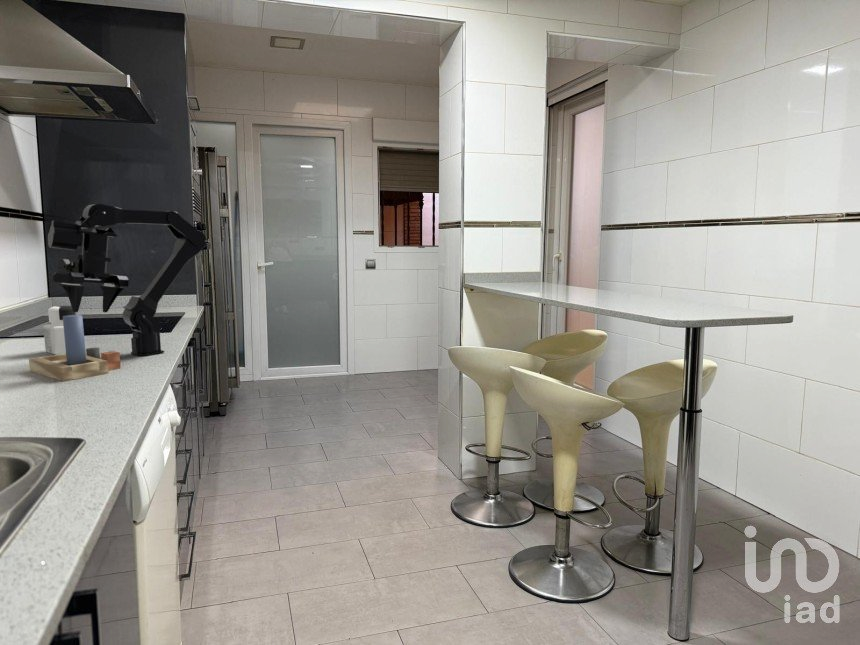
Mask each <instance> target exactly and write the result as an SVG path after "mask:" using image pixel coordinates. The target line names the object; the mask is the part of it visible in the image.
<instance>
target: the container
mask: <svg viewBox="0 0 860 645" xmlns="http://www.w3.org/2000/svg"><path fill="white" fill-rule="evenodd" d="M47 312H48V313H47V314H48V322H49V324H44V325H43V327H42V328H43V337H44V348H45V352H46V353H48V354H52V355H58V354H65V353H66V348H65V337H64V326H63V316H68V315H77V312H73V309H72V306H71V305H56V306H51V307H49V308H48V310H47Z"/></svg>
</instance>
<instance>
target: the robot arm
mask: <svg viewBox="0 0 860 645" xmlns="http://www.w3.org/2000/svg"><path fill="white" fill-rule="evenodd" d="M122 224H141V225H142V224H143V225H163V226H166V227H167V229H168V230H169V231H170V233H171V234H172V236H173V237H175V239H176V241H175V244H174V246H173V251H172V253H171V255H170V256H169V258H168V260H166V262H165V263H164V265H163V266H162V267H161V269H160V270H159V271H158V273H157V275H156V276H155V277H154V279H153V280H152V281H151V283H150V284H149V285H148V287H147V288H146V290H145V291H144V293H142V294H141V295H140V296H136V295H135V296H134V295H131V297H130V298H129V300H128V302H127V304H126V305H125V306H123V307H122V308H123V309H124V310H123V312H122V319H123V321H124V323H125V324H127V325H129V326H130V328H131V331H132V337H131V338H130V341H131V351H130V354H131V355H132V354H133V355H137V356H141V357H145V356H152V355H157V354H162V353H165V350H163V349H162V346H161V344H162V343H161V331H162V330H161V329H162V327H163V325H162V324H161V322H159V321H157V319H155V315H156V313H157V310H158V305H159V303H160V301H161V299H162V298H163V296H165V293H166V292H167V291H168V289H169V288H170V287H171V285H172V284H173V282H174V281H175V280H176V279H177V276H178V275H179V274H180V272H182V270H183V268H184V267H185V266H186V264H187V263H188V262H189V261H190V260H192V259H193V258H194V257H196V256H197V255H198V254H200V253H201V251H202V250H203V249H204V248H205V247H206V245H207V242H208V241H207V237H206V235H205V233H204V232H202V231H201V230H198V229H196V228H195V226H193V224H191V223H189V222H188V221H187V220H185V219H184V218H183V217H182V216H181V215H180V214H179V213H178V212H177V211H176V210H175V211H174V210H165V211H164V210H145V209H126V208H121V207H117V206H115V205H114V206H113V205H110V204H105V203H95V204H89V205H87V206H86V207H84V209H83V211H82V216H80V218H79V219H78V220H77V221H75V222H74V223H70V222H64V221H63V222H62V221H60V220H52V221H51V225H50V228H49V231H48V234H47V245H48V248H51V249H60V250H67V251H68V250H69V251H76V250H77V248H78V247H79V248H80V247H81V246H82V252H81V254H78V256H76V261H70V260H69V259H67V258H61V259H58V262H57V271H55V272H54V274H53V279H52V282H54V283H57V286H59V287H61V288H62V289H64V290H65V292H66V295H67V297H68V300H69V302H70V306H72V309H73V312H75V313H78V312H79V310H80V307H81V303H82V298H83V296H84V295H83V294H84V291H85V290H84V289H85V285H82V284H83V283H90V284H91V283H94V284H95V283H96V284H101V285H99V287H100V289H101V291H102V313H108V312H109V310H110V308H111V307H112V305H113V304H114V303H115V301H116V299H117V297H119V295H120V294H121V292H122V291H124V290H126V289H125V288H126V287H128V288H129V283H130V280H129V277H128V276H126V275H117V274H110V273H107V264H108V263H109V262H111V258H112V257H108V250H109V239H110V238H109V237H111V238H117V237H118V234H117V233H116V232H115V231H114V230H113V228H112V227H107V226H114V225H122ZM93 227H95V228H93ZM96 227H107V228H106V229H102V228H96ZM92 228H93V229H92ZM82 229H92V230H91V231H87V230H82Z"/></svg>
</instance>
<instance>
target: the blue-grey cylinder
mask: <svg viewBox="0 0 860 645" xmlns="http://www.w3.org/2000/svg"><path fill="white" fill-rule="evenodd" d="M83 320H84V319H83V315H82V314H76V315H68V316H63V326H64V337H65V348H66V359H67V365H68V366H71V365H77V364H83V363H86V342H85V331H84V321H83Z"/></svg>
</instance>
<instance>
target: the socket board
mask: <svg viewBox="0 0 860 645" xmlns="http://www.w3.org/2000/svg"><path fill="white" fill-rule="evenodd" d="M85 352H86V363H83V364H77V365H71V366H68V365H67V359H66V353H65V354H58V355H55V354H52V355H45V356H41V357H40V356H39V357H33V358H28V366H29V371H30V372H32V373H35V374H38V375H42V376H45V377H48V378H52V379H56V380H59V381H61V382H67V381H71V380H78V379H82V378H83V379H84V378H88V377H94V376H99V375H106V374H109V371H111V370H118V369H121V368H122V367H121V358H120V353H121V352H120V351H115V350H111V351H103V352H100V347H88V348H85Z"/></svg>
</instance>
